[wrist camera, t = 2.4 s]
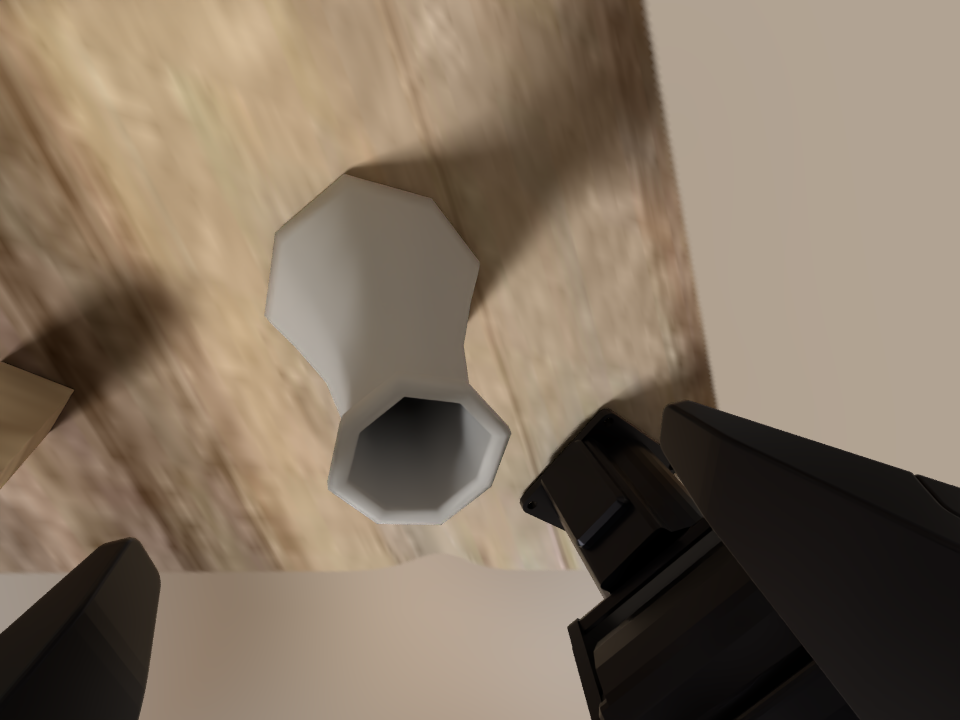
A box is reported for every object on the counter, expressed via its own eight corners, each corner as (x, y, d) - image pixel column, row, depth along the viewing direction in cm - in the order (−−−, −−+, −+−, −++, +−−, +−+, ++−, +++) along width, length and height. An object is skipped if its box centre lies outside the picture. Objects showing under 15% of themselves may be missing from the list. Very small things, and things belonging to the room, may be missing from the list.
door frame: (365, -93, 12) (385, -197, 8) (48, 434, 16) (-52, 549, 12) (294, -170, 12) (275, -333, 7) (-26, 409, 15) (-163, 525, 11)
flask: (331, 128, 15) (336, 157, 6) (510, 252, 18) (676, 382, 9) (226, 322, 16) (115, 556, 8) (408, 402, 20) (470, 627, 11)
